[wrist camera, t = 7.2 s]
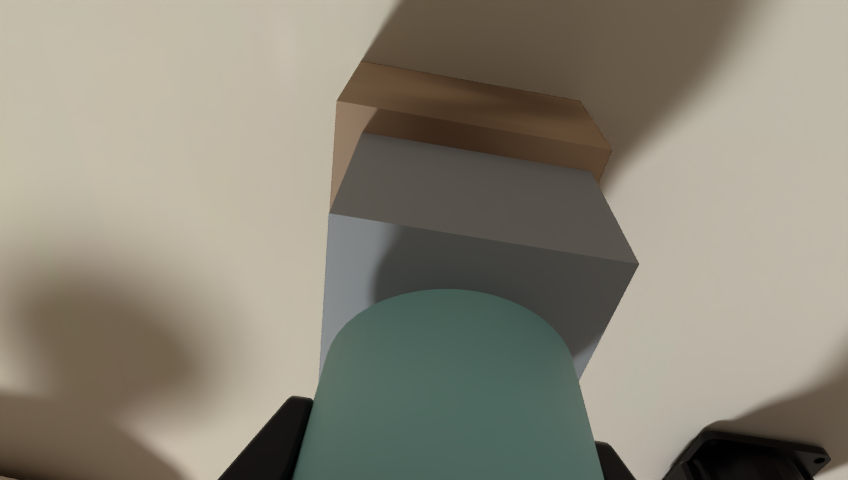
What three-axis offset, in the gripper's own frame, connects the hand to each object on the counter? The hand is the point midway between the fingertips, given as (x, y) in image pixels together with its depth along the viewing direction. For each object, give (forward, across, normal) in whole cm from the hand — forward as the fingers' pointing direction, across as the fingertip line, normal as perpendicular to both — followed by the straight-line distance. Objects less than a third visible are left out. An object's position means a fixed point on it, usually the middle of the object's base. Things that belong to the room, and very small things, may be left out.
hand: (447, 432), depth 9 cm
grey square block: (+6, 0, 0) cm, 6 cm away
